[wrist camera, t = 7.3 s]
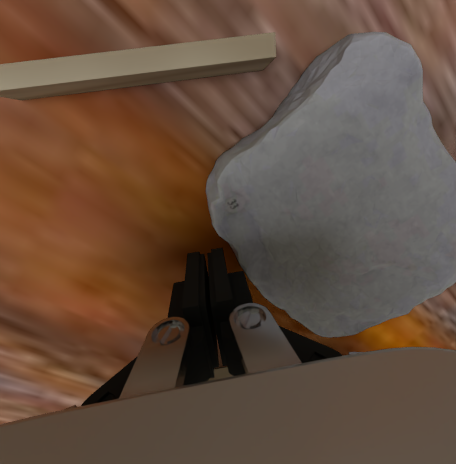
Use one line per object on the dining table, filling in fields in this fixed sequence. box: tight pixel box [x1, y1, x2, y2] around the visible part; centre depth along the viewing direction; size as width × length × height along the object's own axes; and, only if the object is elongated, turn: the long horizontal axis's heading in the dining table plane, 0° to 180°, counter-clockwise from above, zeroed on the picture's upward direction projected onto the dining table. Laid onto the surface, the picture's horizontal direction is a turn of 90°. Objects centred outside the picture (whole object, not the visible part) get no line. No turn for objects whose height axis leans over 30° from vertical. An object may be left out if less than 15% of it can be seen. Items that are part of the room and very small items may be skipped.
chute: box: [0, 32, 276, 381], centre depth 12 cm, size 18×26×3 cm
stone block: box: [206, 32, 456, 337], centre depth 12 cm, size 12×5×10 cm
